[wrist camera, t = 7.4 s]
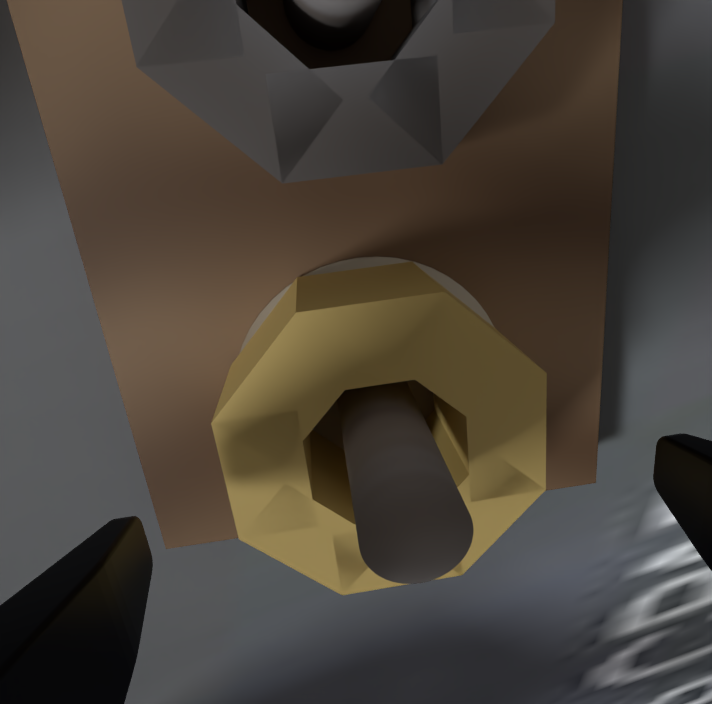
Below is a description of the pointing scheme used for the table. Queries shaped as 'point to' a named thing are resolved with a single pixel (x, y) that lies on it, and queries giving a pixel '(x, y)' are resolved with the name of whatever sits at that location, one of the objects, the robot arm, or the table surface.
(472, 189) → the gear board
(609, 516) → the table surface
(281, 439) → the tan ring
